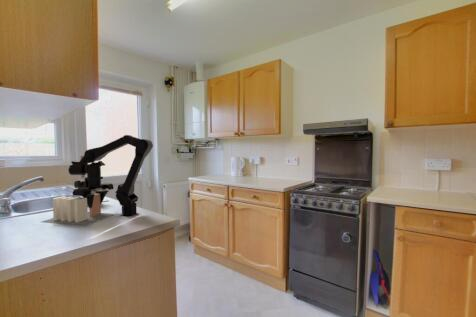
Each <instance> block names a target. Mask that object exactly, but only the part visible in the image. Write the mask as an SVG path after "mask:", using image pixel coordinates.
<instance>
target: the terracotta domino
mask: <svg viewBox="0 0 476 317" xmlns="http://www.w3.org/2000/svg"><path fill="white" fill-rule="evenodd" d="M101 205H102V203H101V204H100V194H94V199H93V205H92V208H89V207H88V208H89V212H90V216H95V215H98V214H101V213H102V210H101V208H102V206H101Z"/></svg>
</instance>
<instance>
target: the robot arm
mask: <svg viewBox="0 0 476 317" xmlns="http://www.w3.org/2000/svg"><path fill="white" fill-rule="evenodd" d="M127 145H130V146H132V147H134V148H135V149H134V151H135V152H134V153H135V154H134V158H133V160H132V163H131V165H130V168H129V170H128V173H127V175H126V178H125V180H124V182H123V183H121V184H118V185H117V188H116V191H115V198H116V200H117V201H118V203H119V205H120V206H121V214H120V217H125V218H130V217H134V216H136V215H139V214H140V213H139V212H137V203H136V202H138V200H139V197H138V196H137V195H136V194H135V184H136V181H137V179H138V176H139V173H140V171H141V168H142V166H143V164H144V161H145V159H146V157H147V156H148V155H149V154H150V153H151V151H152V149H153V147H154V144H153V142H152V141H151V140H150V139H147V138H146V139H145V138H143V139H142V138H138V137H135V136H132V135H129V134H124V135H123V136H121V137H119V138H117V139H115V140H112V141H111V142H109V143H106V144H105V145H102V146H98V147H94V148H90V149H87V150H84V151H85V152H84V154H83V156H82V157H81V159H80V160H79V161H77V160H75V161H74V160H72V161H71V162H70V165H69V167H68V173H69V175H70V176H85V175H86V177H84V180H83V181H81V180H75V181H74V183H73V187H74V188H75V189H74V190H72V197H81V198H84V197H85V198H87V204H88V206H87V207H88V208H92V205H93V199H94V194H92V192H93V191H95V192H96V193H97V194H100V204H101V205H102V203H103V201H104V199H105V197H106V195H107V194H108V193H109V192H110V191H109V190H114V184H112V183H105V182H104V183H102V180H103V179H104V176H102V168H101V167H104V166H106V164H105V163H104V162H103V161H102V160H103V158H105V157H106V156H108V154H110V153H111V152H114V151H116V150H118V149H120V148H123V147H124V146H127Z"/></svg>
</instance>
